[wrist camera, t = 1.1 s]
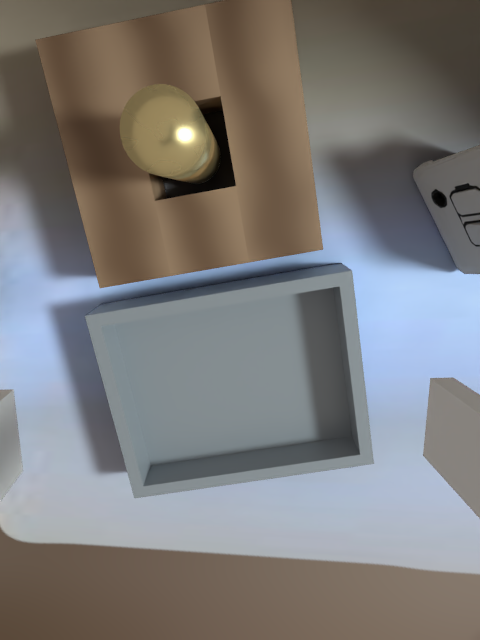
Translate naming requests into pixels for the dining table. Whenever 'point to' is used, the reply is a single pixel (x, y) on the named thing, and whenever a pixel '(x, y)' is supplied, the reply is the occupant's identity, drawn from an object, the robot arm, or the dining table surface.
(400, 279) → the dining table surface
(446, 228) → the electrical switch
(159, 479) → the tray
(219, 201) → the block
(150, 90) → the pin
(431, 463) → the robot arm
